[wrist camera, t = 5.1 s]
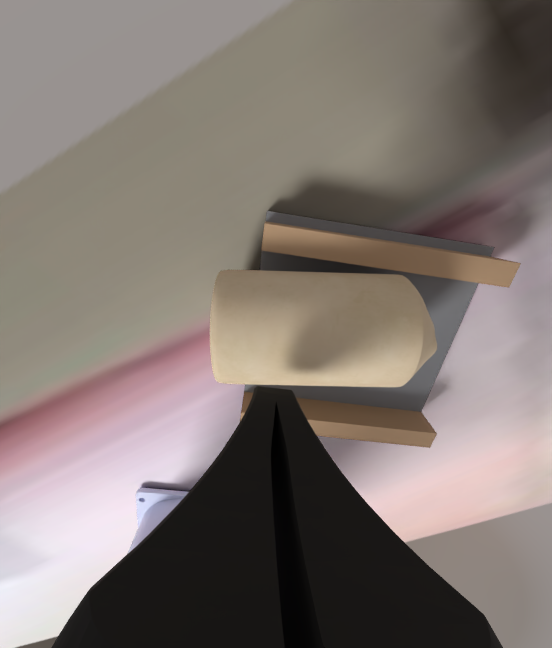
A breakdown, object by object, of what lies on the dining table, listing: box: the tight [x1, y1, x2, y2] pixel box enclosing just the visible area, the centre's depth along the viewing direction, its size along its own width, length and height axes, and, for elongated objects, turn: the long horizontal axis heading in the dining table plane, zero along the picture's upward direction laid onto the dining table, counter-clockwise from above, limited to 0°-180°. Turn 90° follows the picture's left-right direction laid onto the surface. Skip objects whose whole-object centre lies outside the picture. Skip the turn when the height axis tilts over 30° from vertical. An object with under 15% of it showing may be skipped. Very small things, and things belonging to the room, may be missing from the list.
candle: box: [210, 270, 437, 387], centre depth 14 cm, size 6×6×10 cm
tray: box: [240, 211, 521, 448], centre depth 16 cm, size 13×12×3 cm
